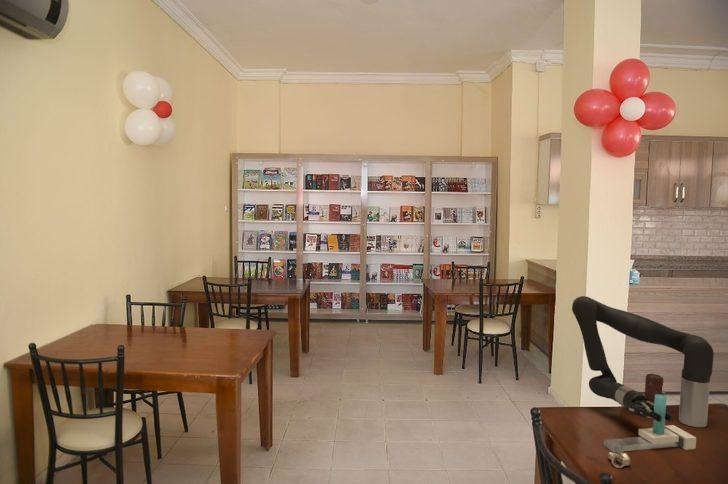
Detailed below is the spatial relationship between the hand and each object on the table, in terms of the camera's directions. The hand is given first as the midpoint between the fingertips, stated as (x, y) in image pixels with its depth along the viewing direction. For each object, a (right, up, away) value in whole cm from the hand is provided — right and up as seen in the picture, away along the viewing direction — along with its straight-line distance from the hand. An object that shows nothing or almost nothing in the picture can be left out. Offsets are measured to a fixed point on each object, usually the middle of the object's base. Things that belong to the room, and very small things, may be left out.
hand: (665, 418), depth 176 cm
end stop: (+8, -10, +5) cm, 14 cm away
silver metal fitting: (-21, -11, -9) cm, 26 cm away
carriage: (-1, -8, +3) cm, 9 cm away
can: (+15, -8, +34) cm, 38 cm away
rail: (-7, -10, +2) cm, 13 cm away
